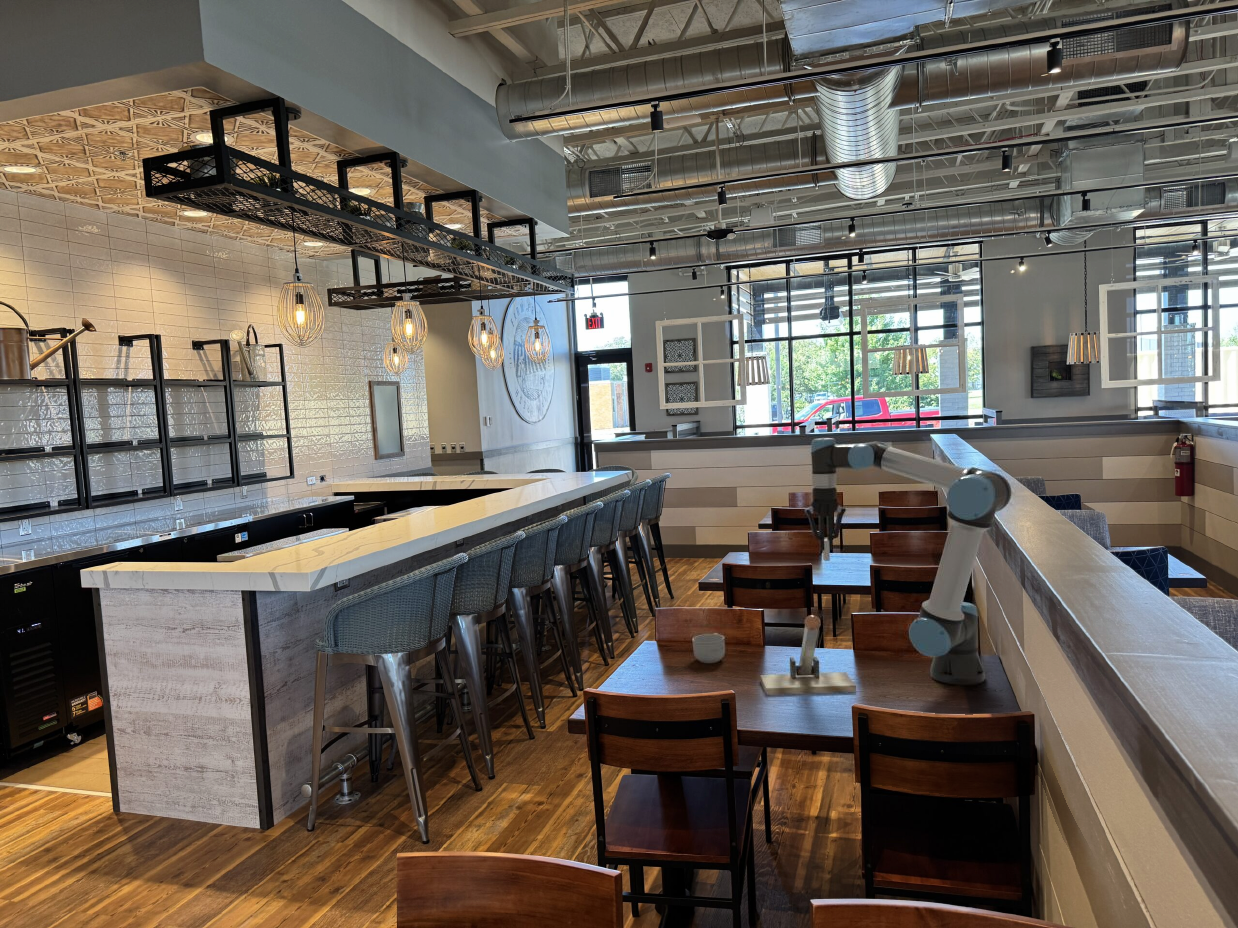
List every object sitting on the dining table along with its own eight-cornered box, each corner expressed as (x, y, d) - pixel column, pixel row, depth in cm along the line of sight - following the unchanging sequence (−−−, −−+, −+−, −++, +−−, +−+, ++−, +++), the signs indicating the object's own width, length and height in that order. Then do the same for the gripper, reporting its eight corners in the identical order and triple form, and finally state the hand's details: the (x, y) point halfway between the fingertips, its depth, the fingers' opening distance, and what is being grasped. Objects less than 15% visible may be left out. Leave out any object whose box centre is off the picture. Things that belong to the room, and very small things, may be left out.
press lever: (811, 666, 248) (820, 611, 230) (813, 679, 244) (823, 623, 227) (794, 667, 248) (803, 612, 230) (797, 679, 245) (805, 624, 227)
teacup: (714, 667, 264) (714, 643, 264) (686, 662, 271) (685, 638, 271) (735, 656, 275) (735, 633, 275) (708, 651, 282) (707, 629, 282)
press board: (845, 678, 248) (845, 654, 248) (856, 691, 236) (855, 666, 236) (760, 681, 249) (759, 657, 248) (766, 694, 237) (765, 669, 236)
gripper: (842, 484, 261) (844, 557, 263) (801, 486, 262) (803, 558, 263) (848, 487, 254) (850, 561, 255) (806, 488, 254) (808, 563, 255)
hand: (826, 560), depth 259 cm, fingers closed
